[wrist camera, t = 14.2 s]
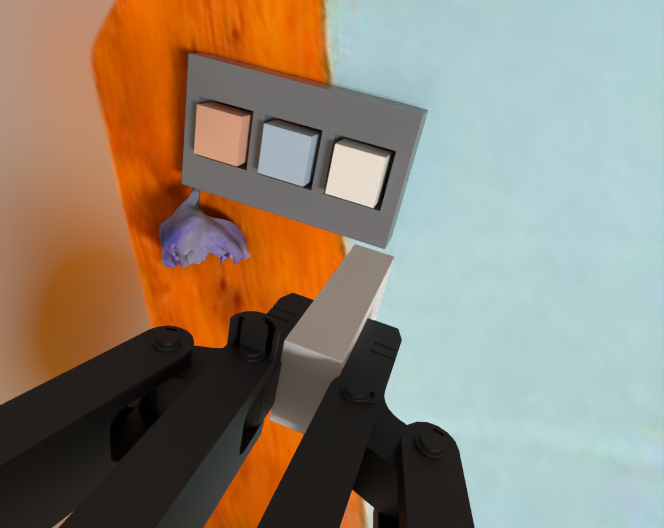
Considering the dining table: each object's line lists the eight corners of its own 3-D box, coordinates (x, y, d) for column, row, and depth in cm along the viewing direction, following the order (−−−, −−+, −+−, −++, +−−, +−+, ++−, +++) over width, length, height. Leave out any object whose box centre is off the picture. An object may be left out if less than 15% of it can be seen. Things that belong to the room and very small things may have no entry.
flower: (119, 186, 44) (145, 285, 42) (204, 155, 44) (235, 252, 42) (162, 214, 53) (185, 297, 51) (233, 188, 53) (259, 270, 51)
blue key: (276, 119, 42) (264, 123, 40) (321, 132, 41) (311, 136, 39) (269, 166, 44) (257, 172, 42) (312, 179, 43) (302, 186, 41)
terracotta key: (212, 101, 43) (196, 104, 41) (255, 113, 43) (242, 117, 40) (208, 148, 45) (193, 153, 43) (249, 160, 45) (236, 166, 42)
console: (207, 53, 43) (188, 53, 41) (427, 110, 39) (423, 114, 37) (198, 176, 49) (181, 183, 46) (391, 237, 45) (384, 249, 42)
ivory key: (344, 138, 41) (335, 143, 39) (392, 152, 40) (386, 158, 38) (334, 185, 43) (325, 193, 41) (379, 199, 42) (373, 208, 40)
